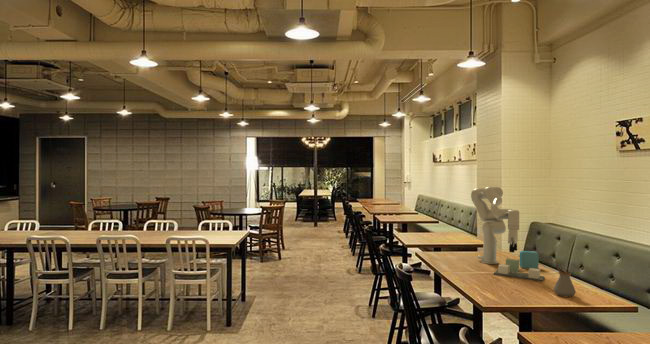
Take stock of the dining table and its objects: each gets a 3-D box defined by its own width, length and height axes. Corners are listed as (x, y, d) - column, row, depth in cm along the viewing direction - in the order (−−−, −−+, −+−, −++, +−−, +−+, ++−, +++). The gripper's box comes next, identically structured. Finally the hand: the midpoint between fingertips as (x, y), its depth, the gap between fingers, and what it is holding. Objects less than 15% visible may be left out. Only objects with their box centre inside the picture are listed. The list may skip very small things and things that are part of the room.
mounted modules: (498, 272, 298) (498, 265, 298) (500, 271, 303) (500, 263, 303) (538, 278, 284) (538, 271, 283) (539, 276, 289) (540, 269, 289)
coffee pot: (578, 298, 245) (579, 272, 245) (556, 297, 248) (557, 271, 247) (565, 288, 266) (566, 264, 266) (545, 287, 269) (546, 263, 268)
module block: (505, 270, 310) (505, 259, 310) (507, 269, 314) (507, 258, 314) (517, 272, 306) (517, 261, 306) (518, 271, 309) (519, 260, 309)
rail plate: (493, 274, 298) (493, 272, 298) (497, 271, 306) (497, 269, 306) (542, 281, 281) (542, 279, 281) (544, 278, 289) (544, 276, 289)
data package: (536, 267, 322) (536, 251, 321) (538, 268, 317) (538, 252, 317) (519, 266, 323) (519, 250, 323) (521, 268, 319) (521, 251, 319)
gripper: (510, 225, 318) (510, 249, 318) (505, 228, 304) (504, 252, 304) (521, 226, 314) (521, 250, 314) (516, 228, 300) (516, 253, 300)
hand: (513, 251), depth 309 cm, fingers open, 9 cm apart
